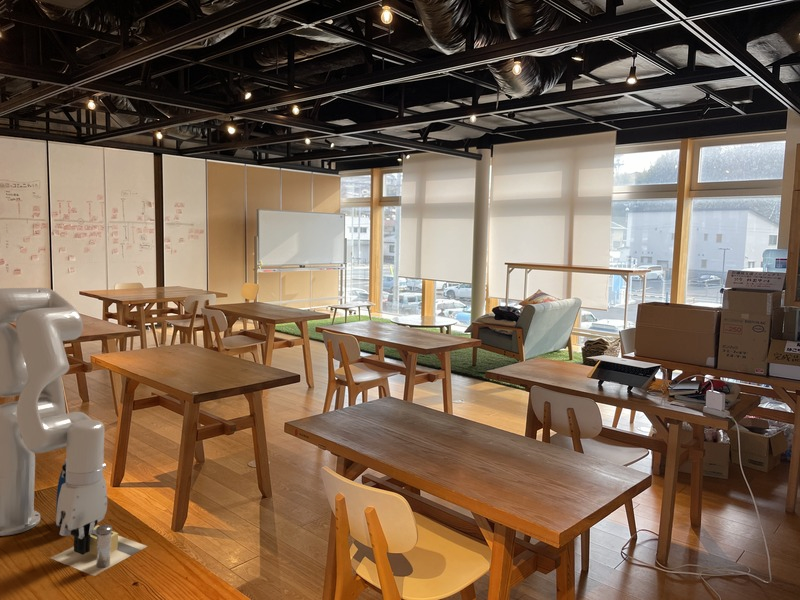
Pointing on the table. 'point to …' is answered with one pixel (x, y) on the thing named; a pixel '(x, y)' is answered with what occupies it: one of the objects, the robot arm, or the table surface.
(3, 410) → the robot arm
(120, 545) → the white square mat
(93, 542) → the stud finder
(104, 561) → the steel pin
